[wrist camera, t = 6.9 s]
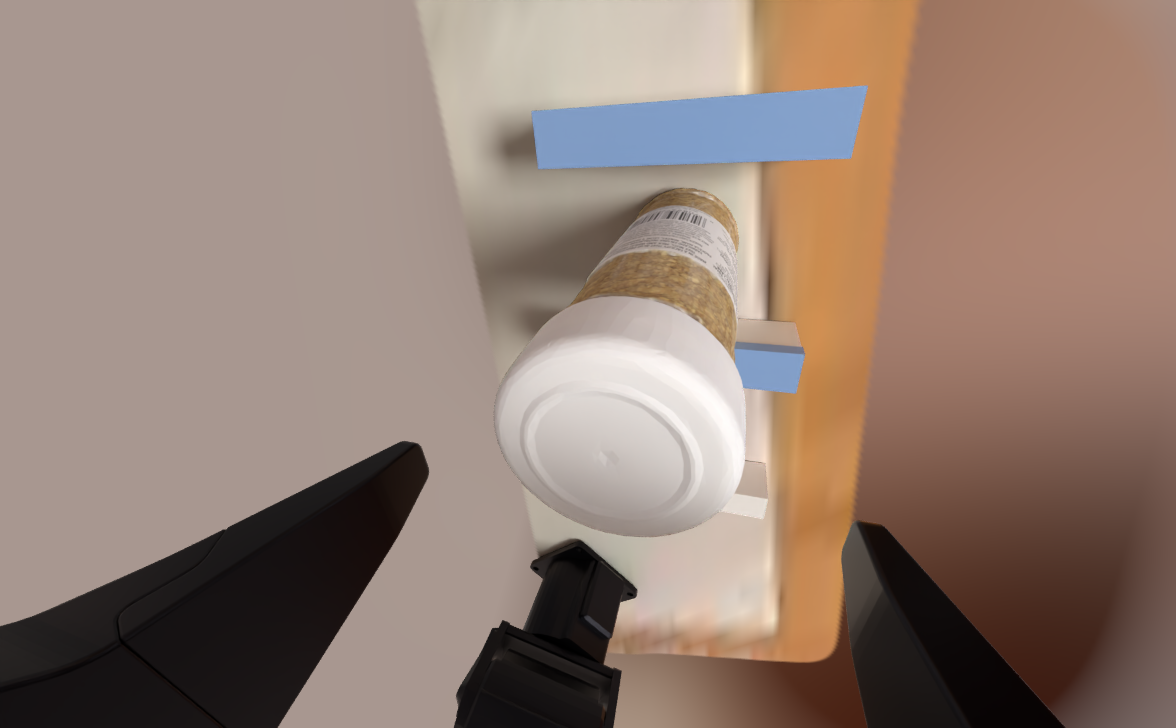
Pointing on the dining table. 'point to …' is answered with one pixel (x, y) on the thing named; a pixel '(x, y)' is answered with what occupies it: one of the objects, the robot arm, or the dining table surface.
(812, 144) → the rail comb
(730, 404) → the sprinkles bottle
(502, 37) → the dining table surface
